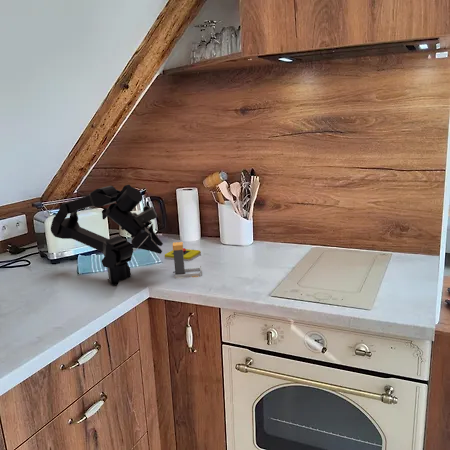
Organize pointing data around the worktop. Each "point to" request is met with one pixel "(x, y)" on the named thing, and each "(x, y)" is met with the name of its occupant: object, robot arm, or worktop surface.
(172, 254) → the emergency button
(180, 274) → the breaker panel
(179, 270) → the toggle
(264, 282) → the worktop surface
